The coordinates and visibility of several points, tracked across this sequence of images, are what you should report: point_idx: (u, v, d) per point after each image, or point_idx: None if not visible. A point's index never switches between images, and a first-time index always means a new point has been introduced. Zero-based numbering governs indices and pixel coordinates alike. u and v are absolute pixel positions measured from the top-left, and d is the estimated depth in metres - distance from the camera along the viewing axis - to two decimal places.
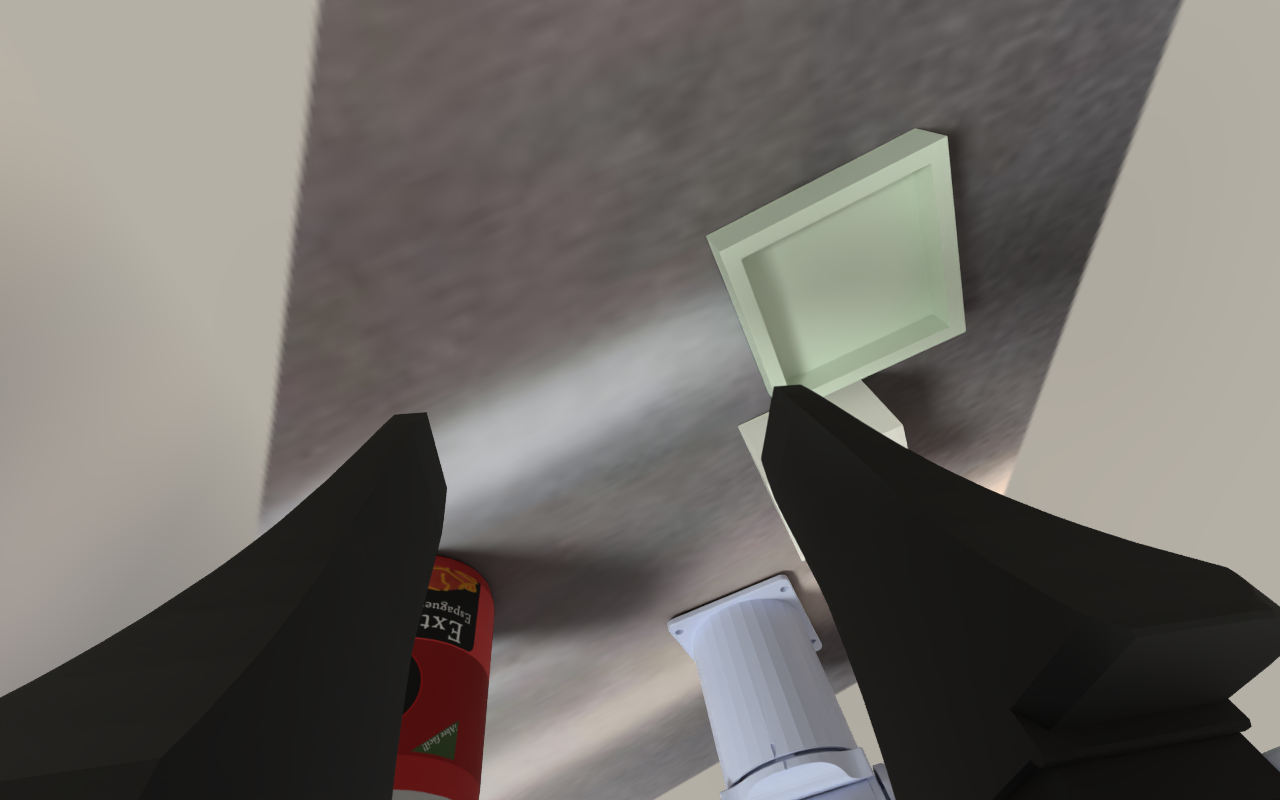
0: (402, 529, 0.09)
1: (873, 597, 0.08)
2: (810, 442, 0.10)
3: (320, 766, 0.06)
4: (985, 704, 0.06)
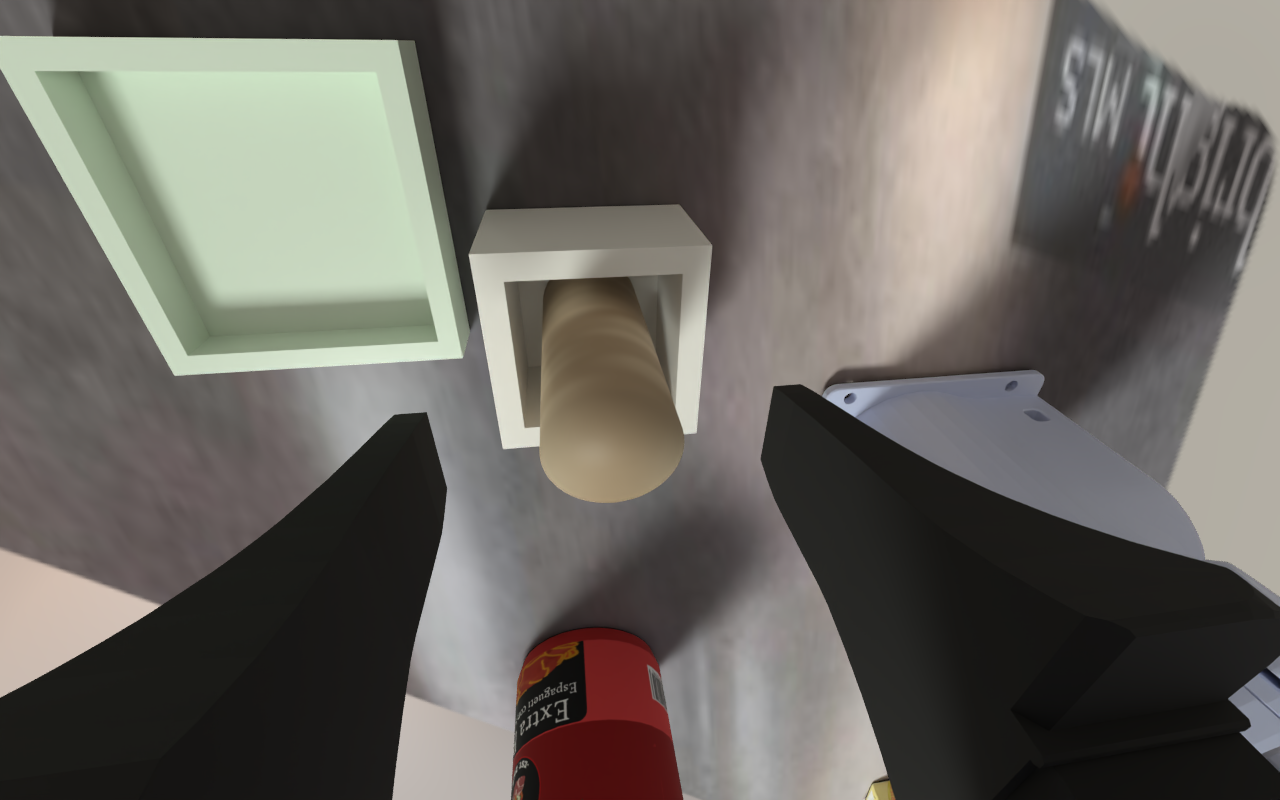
0: (403, 528, 0.09)
1: (873, 597, 0.08)
2: (810, 442, 0.10)
3: (320, 766, 0.06)
4: (985, 704, 0.06)
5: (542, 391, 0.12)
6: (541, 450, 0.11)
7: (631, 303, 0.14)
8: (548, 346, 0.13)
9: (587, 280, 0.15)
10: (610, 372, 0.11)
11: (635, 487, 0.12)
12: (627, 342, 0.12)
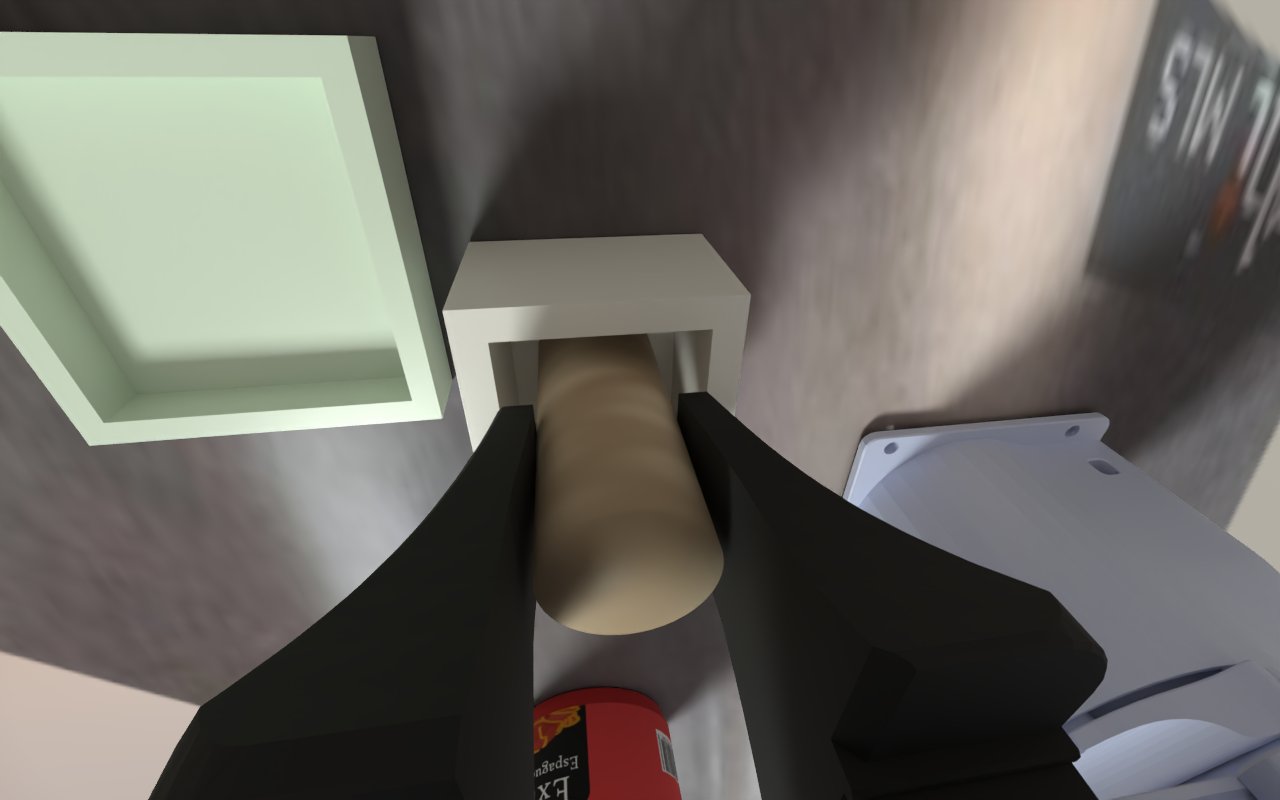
0: (527, 516, 0.09)
1: (746, 614, 0.08)
2: (702, 452, 0.09)
3: (509, 737, 0.06)
4: (816, 732, 0.06)
5: (537, 490, 0.09)
6: (535, 583, 0.08)
7: (646, 360, 0.12)
8: (544, 422, 0.10)
9: None
10: (628, 480, 0.08)
11: (658, 616, 0.09)
12: (646, 425, 0.09)
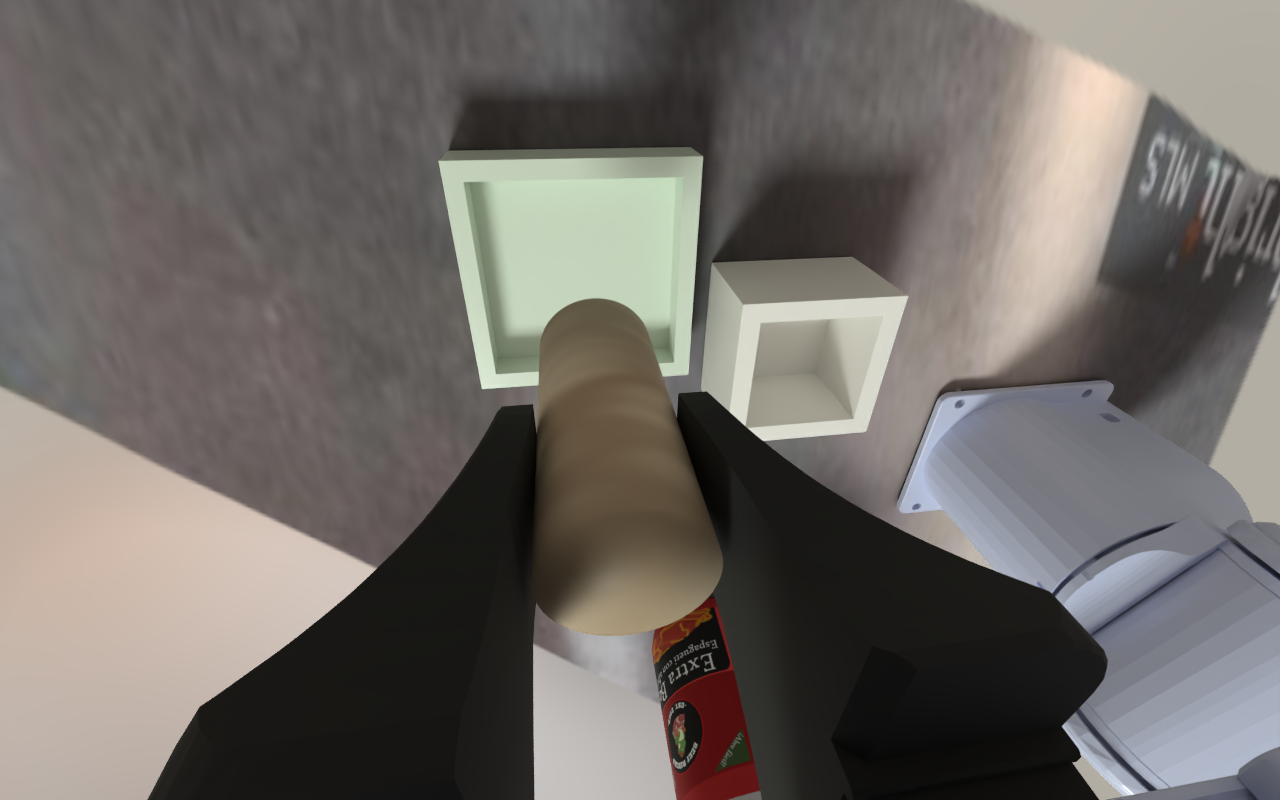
0: (527, 516, 0.09)
1: (746, 613, 0.08)
2: (702, 451, 0.09)
3: (509, 737, 0.06)
4: (815, 731, 0.06)
5: (536, 491, 0.09)
6: (534, 584, 0.08)
7: (647, 360, 0.12)
8: (544, 423, 0.10)
9: (592, 330, 0.12)
10: (626, 481, 0.08)
11: (657, 617, 0.09)
12: (645, 426, 0.09)
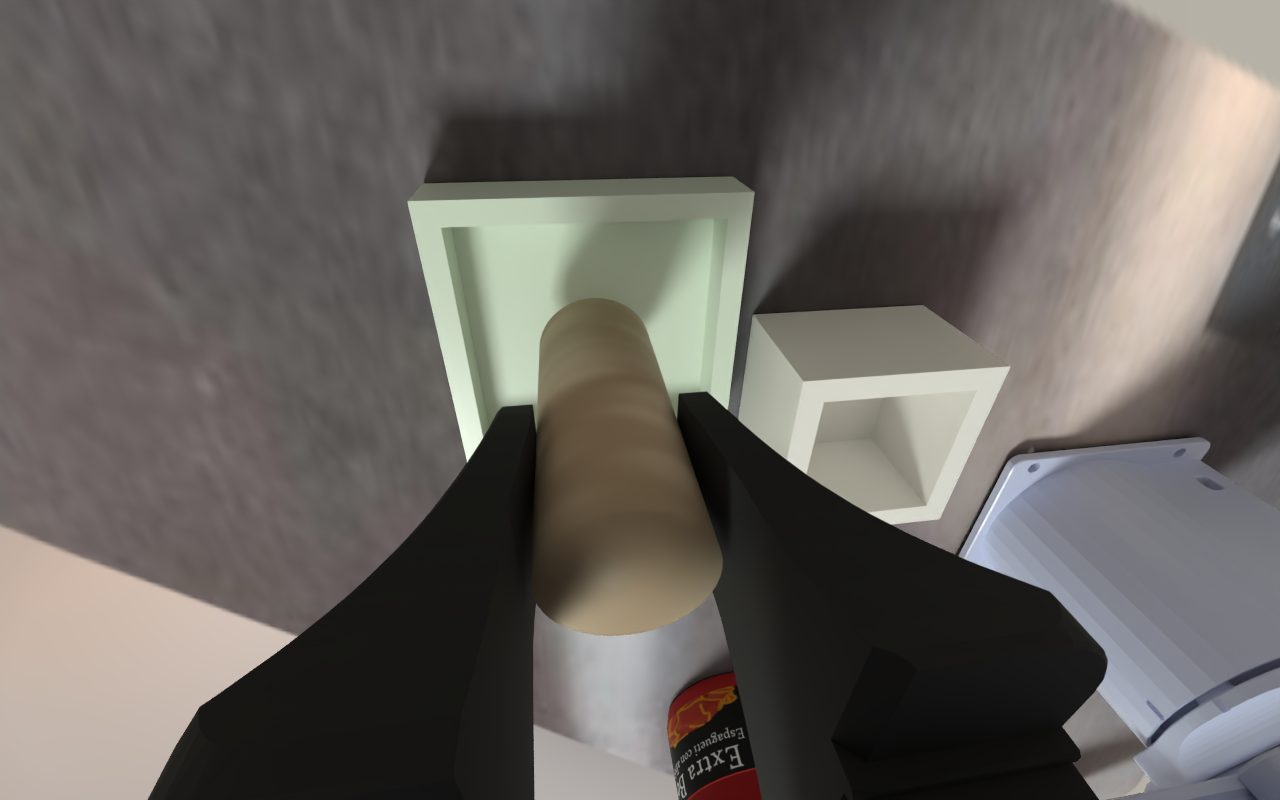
0: (527, 516, 0.09)
1: (746, 613, 0.08)
2: (702, 452, 0.09)
3: (509, 737, 0.06)
4: (815, 731, 0.06)
5: (536, 491, 0.09)
6: (533, 584, 0.08)
7: (646, 360, 0.12)
8: (544, 423, 0.10)
9: (592, 330, 0.12)
10: (625, 481, 0.08)
11: (657, 617, 0.09)
12: (645, 426, 0.09)
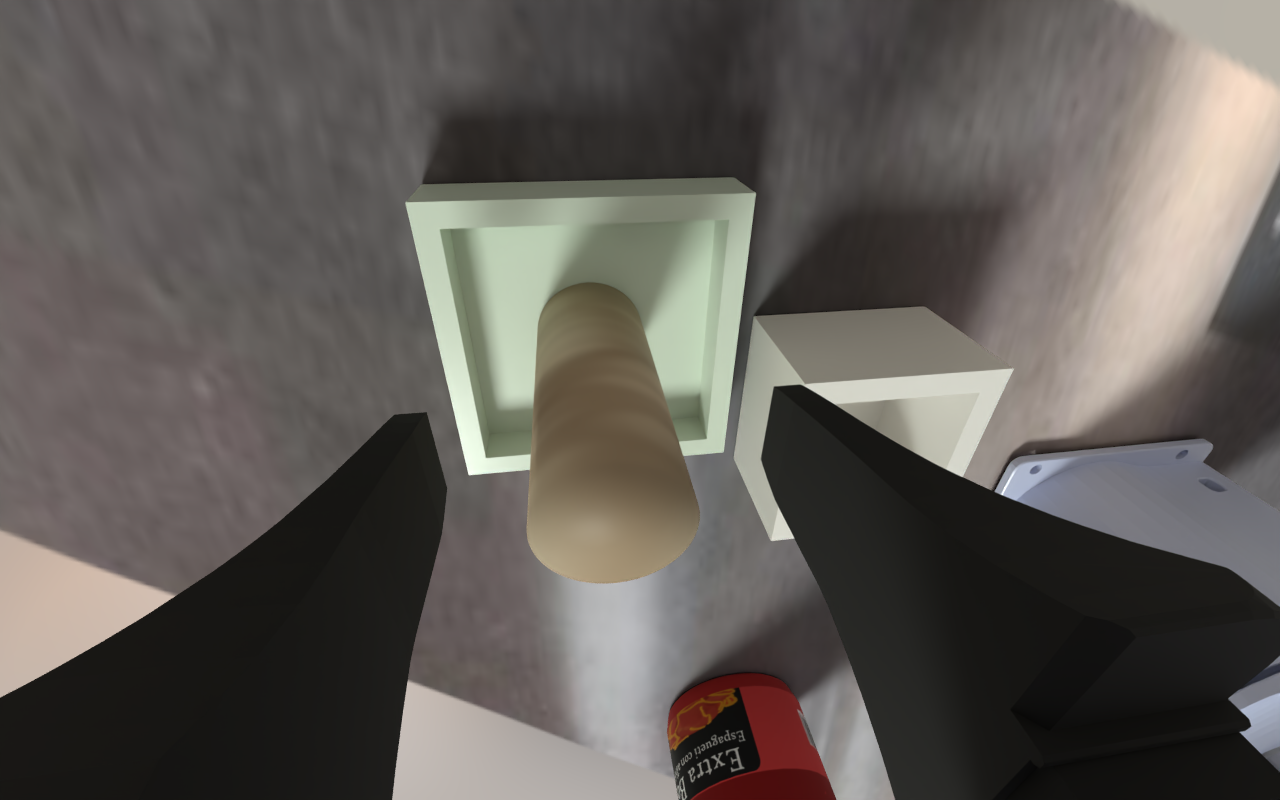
0: (402, 528, 0.09)
1: (873, 597, 0.08)
2: (810, 442, 0.10)
3: (319, 766, 0.06)
4: (985, 704, 0.06)
5: (532, 452, 0.10)
6: (529, 531, 0.09)
7: (636, 338, 0.13)
8: (540, 393, 0.11)
9: (586, 311, 0.13)
10: (611, 438, 0.09)
11: (641, 566, 0.10)
12: (631, 393, 0.10)
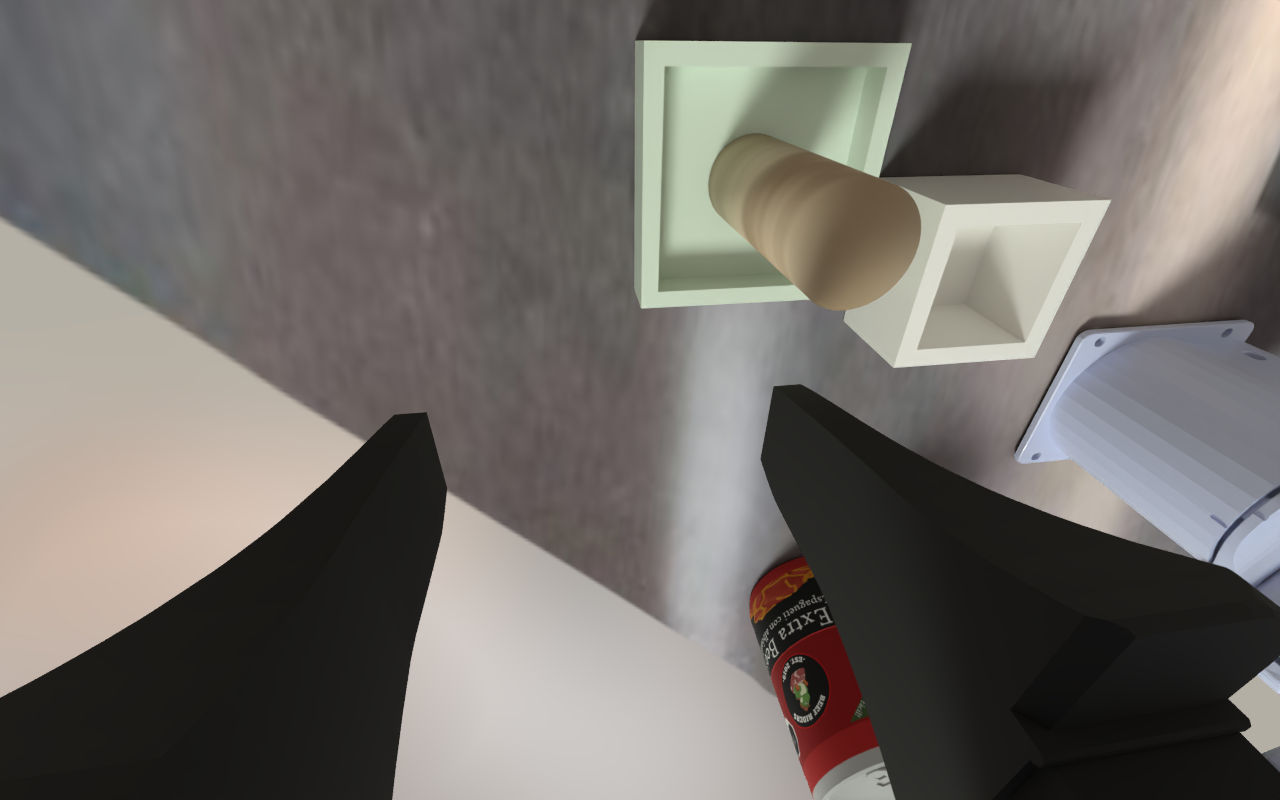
0: (402, 528, 0.09)
1: (873, 597, 0.08)
2: (810, 442, 0.10)
3: (320, 766, 0.06)
4: (985, 704, 0.06)
5: (776, 212, 0.13)
6: (799, 247, 0.12)
7: None
8: (762, 185, 0.14)
9: (771, 141, 0.16)
10: (861, 174, 0.12)
11: (866, 294, 0.13)
12: None
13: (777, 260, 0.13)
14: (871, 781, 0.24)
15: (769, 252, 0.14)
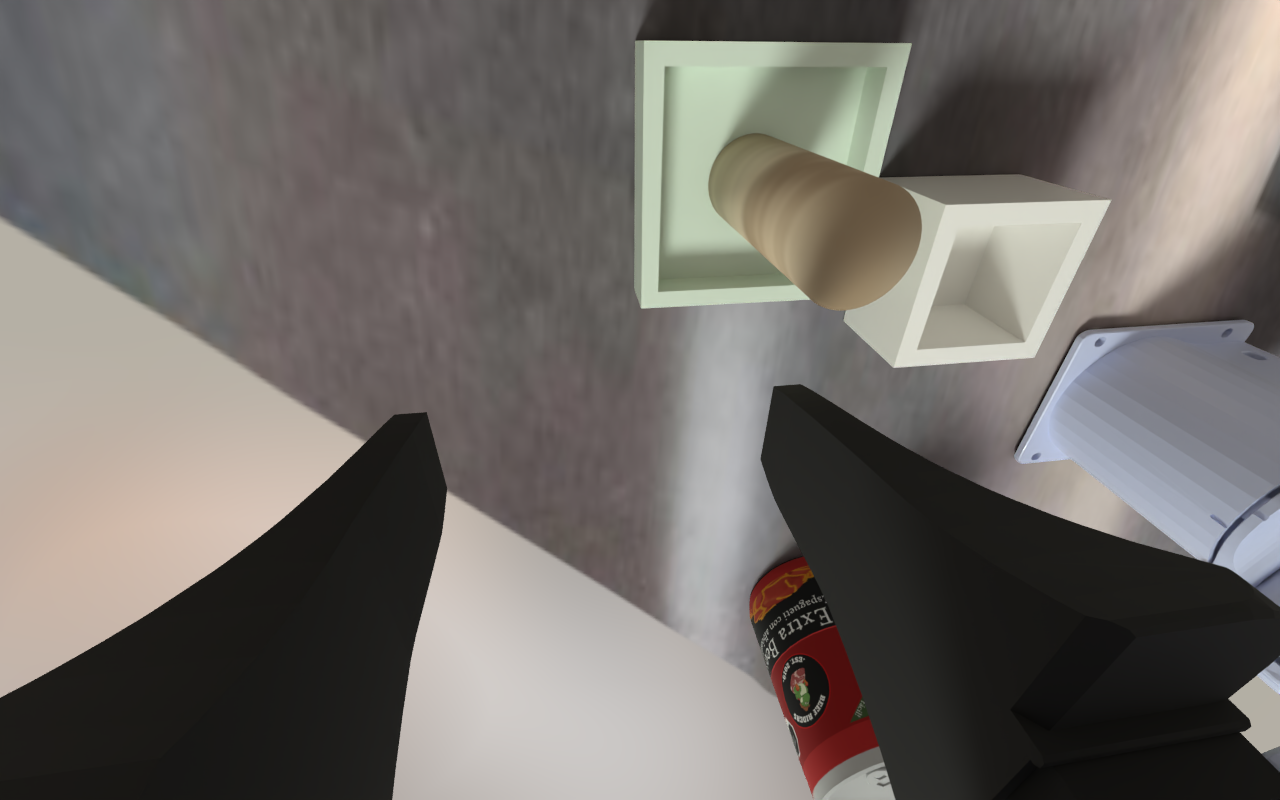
0: (402, 528, 0.09)
1: (873, 597, 0.08)
2: (810, 442, 0.10)
3: (320, 766, 0.06)
4: (985, 704, 0.06)
5: (776, 212, 0.13)
6: (800, 247, 0.12)
7: None
8: (762, 185, 0.14)
9: (771, 141, 0.16)
10: (861, 174, 0.12)
11: (867, 293, 0.13)
12: None
13: (778, 260, 0.13)
14: (871, 781, 0.24)
15: (770, 252, 0.14)
